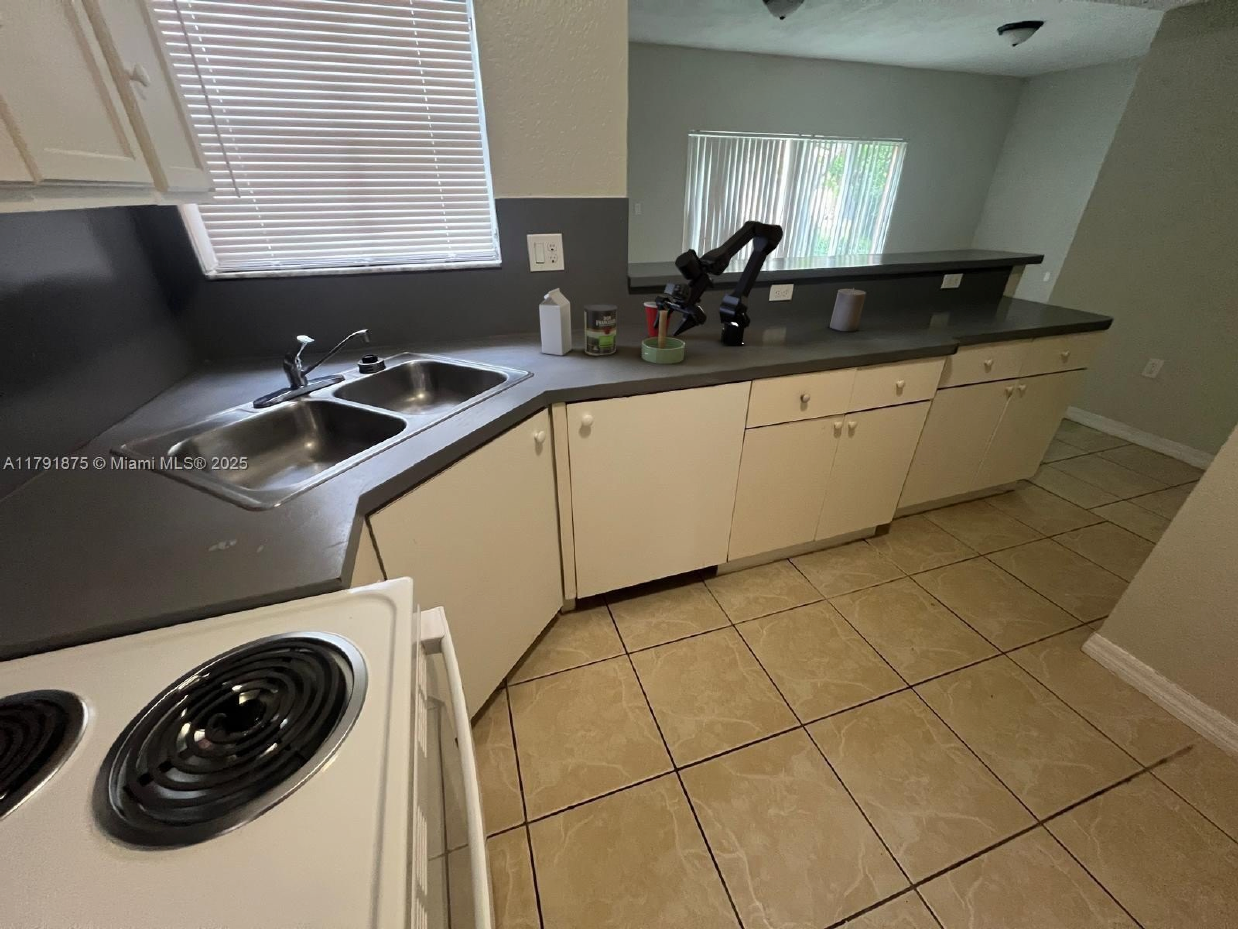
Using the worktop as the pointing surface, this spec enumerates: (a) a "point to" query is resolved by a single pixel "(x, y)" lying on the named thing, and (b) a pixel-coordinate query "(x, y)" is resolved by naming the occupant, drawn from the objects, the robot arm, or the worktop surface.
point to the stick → (662, 329)
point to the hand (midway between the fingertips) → (663, 331)
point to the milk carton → (555, 323)
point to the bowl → (663, 350)
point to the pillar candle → (847, 309)
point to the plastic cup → (653, 319)
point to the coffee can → (600, 328)
